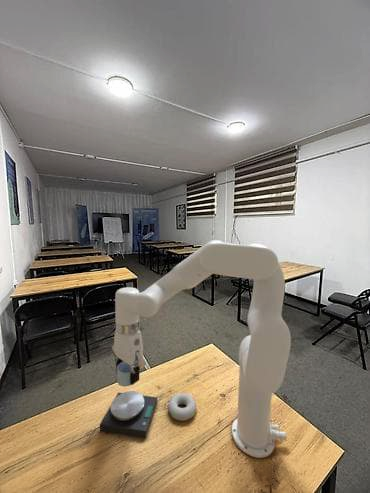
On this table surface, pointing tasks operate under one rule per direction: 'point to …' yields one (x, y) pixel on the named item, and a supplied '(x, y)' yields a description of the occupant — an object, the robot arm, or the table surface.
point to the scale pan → (127, 405)
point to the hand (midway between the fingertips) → (127, 376)
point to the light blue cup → (124, 374)
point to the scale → (131, 421)
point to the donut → (182, 412)
